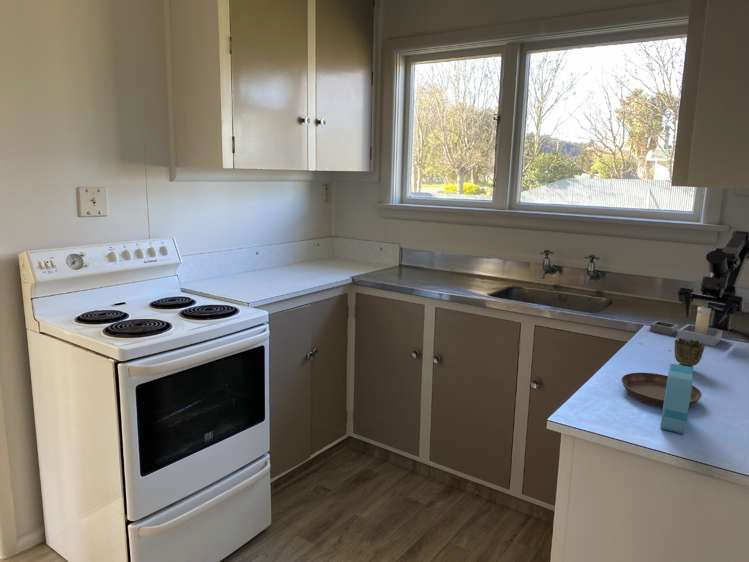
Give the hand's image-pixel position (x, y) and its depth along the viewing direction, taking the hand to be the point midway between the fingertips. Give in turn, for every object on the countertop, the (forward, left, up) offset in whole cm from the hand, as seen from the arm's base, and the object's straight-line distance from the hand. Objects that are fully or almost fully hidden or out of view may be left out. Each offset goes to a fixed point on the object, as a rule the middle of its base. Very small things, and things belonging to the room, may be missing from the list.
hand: (702, 319), depth 184 cm
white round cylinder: (0, 0, -7) cm, 7 cm away
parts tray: (0, 0, -8) cm, 8 cm away
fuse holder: (0, -11, -8) cm, 13 cm away
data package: (+74, +13, -8) cm, 75 cm away
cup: (+33, +5, -8) cm, 34 cm away
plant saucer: (+60, +6, -8) cm, 61 cm away
